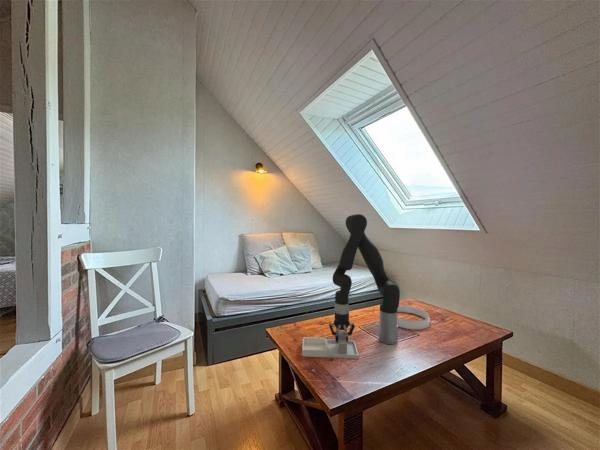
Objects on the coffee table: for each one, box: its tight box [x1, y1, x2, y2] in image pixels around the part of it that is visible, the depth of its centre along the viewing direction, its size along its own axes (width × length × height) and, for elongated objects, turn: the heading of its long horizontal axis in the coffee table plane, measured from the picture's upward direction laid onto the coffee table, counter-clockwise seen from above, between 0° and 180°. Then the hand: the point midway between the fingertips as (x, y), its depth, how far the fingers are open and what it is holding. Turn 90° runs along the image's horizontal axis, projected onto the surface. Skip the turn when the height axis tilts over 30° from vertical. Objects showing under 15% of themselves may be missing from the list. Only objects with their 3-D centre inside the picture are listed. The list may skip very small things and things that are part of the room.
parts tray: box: [326, 338, 360, 359], centre depth 130 cm, size 15×14×2 cm
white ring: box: [397, 304, 431, 330], centre depth 168 cm, size 27×27×6 cm
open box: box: [301, 336, 328, 358], centre depth 130 cm, size 12×12×4 cm
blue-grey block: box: [338, 330, 346, 340], centre depth 134 cm, size 4×4×6 cm
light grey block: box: [338, 340, 347, 354], centre depth 126 cm, size 4×4×6 cm
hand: (341, 342), depth 134 cm, fingers closed on blue-grey block, 4 cm apart
